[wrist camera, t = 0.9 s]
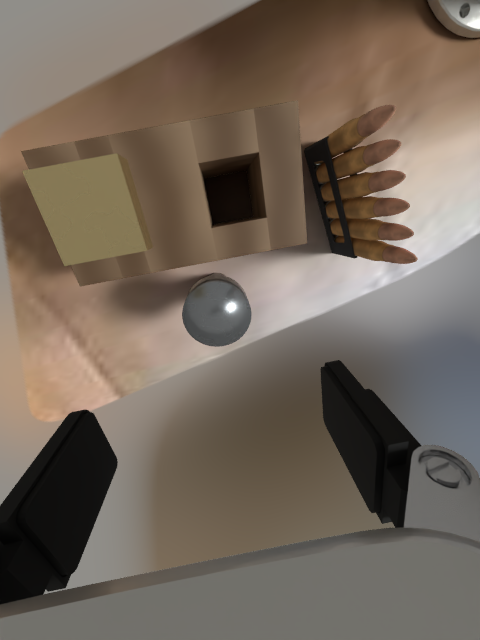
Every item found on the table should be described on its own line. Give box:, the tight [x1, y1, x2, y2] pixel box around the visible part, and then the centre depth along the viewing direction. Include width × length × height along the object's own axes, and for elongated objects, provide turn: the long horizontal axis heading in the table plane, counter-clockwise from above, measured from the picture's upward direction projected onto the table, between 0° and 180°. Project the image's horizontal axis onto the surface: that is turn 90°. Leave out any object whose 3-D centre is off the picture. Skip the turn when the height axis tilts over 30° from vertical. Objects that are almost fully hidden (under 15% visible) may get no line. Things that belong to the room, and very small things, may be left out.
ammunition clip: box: [304, 105, 417, 264], centre depth 21 cm, size 11×2×12 cm, turn 23°
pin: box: [182, 273, 251, 346], centre depth 24 cm, size 5×5×10 cm
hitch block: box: [21, 100, 307, 286], centre depth 22 cm, size 18×9×8 cm, turn 100°
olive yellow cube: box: [22, 153, 153, 266], centre depth 16 cm, size 5×5×5 cm
